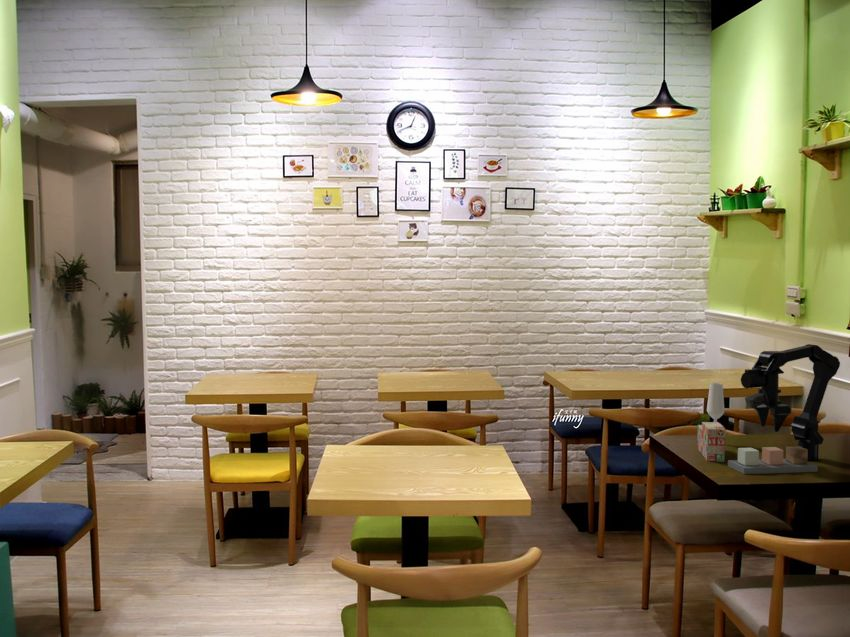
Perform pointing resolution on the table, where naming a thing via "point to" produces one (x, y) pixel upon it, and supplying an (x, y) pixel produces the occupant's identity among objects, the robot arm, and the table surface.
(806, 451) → the walnut key
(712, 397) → the champagne flute
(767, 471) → the key board
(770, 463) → the salmon pink cube
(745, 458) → the pale green cube
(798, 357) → the robot arm
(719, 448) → the stack of blocks
